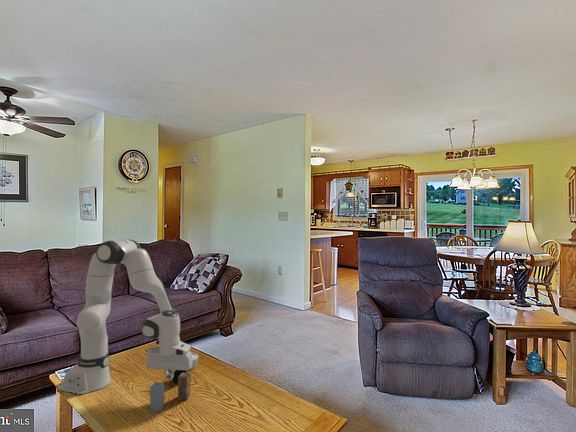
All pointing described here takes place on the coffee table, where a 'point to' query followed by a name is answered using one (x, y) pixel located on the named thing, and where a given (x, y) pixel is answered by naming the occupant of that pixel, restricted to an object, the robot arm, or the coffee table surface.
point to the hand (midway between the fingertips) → (169, 378)
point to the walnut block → (184, 386)
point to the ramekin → (194, 360)
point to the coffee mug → (177, 375)
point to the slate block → (157, 396)
